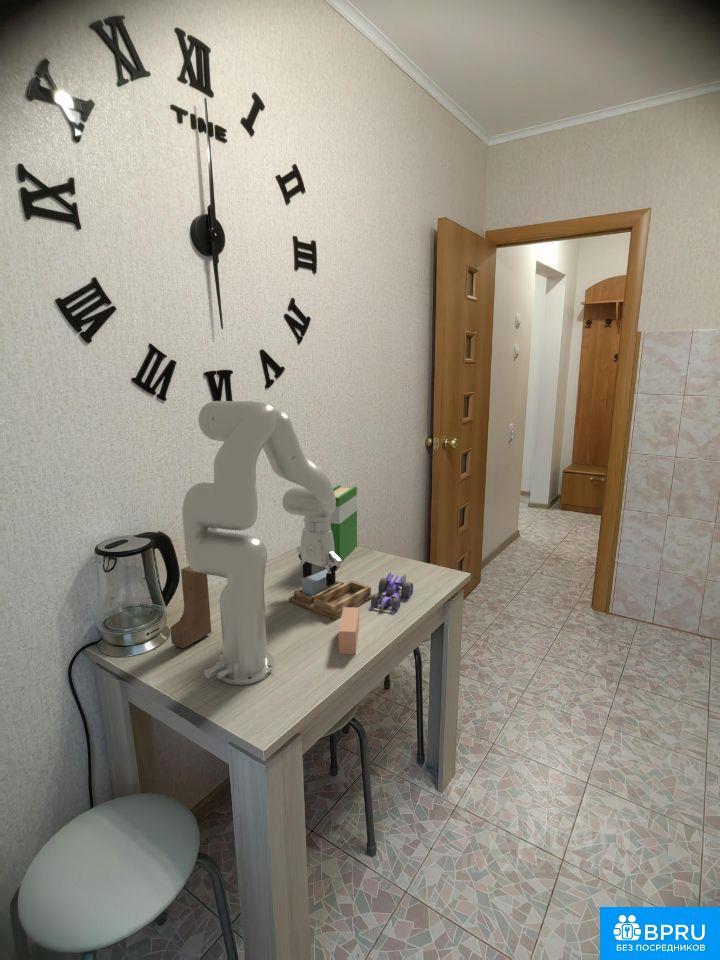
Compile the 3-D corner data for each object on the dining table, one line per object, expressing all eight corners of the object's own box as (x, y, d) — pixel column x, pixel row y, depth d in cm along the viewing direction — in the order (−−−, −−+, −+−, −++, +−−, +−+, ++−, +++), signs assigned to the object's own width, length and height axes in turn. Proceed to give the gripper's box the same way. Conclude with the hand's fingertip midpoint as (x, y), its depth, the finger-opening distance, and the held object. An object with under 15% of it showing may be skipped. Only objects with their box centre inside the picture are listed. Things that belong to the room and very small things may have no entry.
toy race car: (365, 611, 137) (365, 590, 135) (383, 590, 150) (383, 570, 149) (397, 618, 133) (397, 596, 132) (413, 595, 147) (413, 575, 145)
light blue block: (311, 599, 141) (311, 583, 140) (302, 595, 144) (301, 579, 143) (335, 588, 149) (335, 572, 147) (326, 584, 151) (326, 569, 150)
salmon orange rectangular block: (355, 654, 116) (355, 631, 114) (338, 654, 116) (338, 631, 114) (358, 628, 127) (358, 607, 126) (343, 628, 127) (343, 607, 126)
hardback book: (338, 546, 187) (338, 485, 182) (357, 548, 185) (356, 486, 179) (320, 563, 171) (318, 496, 165) (340, 565, 168) (339, 498, 163)
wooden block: (183, 649, 118) (177, 579, 114) (170, 643, 120) (164, 575, 116) (212, 632, 125) (207, 566, 121) (200, 627, 128) (194, 562, 124)
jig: (334, 620, 131) (334, 608, 130) (288, 601, 142) (288, 589, 142) (373, 598, 144) (373, 587, 143) (328, 582, 155) (328, 571, 154)
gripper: (287, 522, 144) (289, 576, 148) (330, 534, 133) (331, 592, 137) (305, 516, 150) (307, 569, 153) (348, 527, 139) (349, 584, 143)
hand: (318, 580), depth 145 cm, fingers open, 9 cm apart
